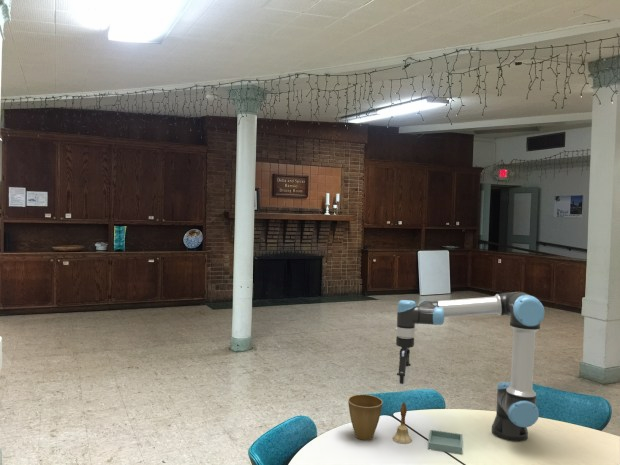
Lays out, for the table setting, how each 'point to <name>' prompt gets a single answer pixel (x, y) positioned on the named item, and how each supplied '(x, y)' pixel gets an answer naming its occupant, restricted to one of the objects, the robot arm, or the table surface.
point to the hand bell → (402, 428)
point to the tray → (445, 441)
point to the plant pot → (364, 414)
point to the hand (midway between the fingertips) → (403, 385)
